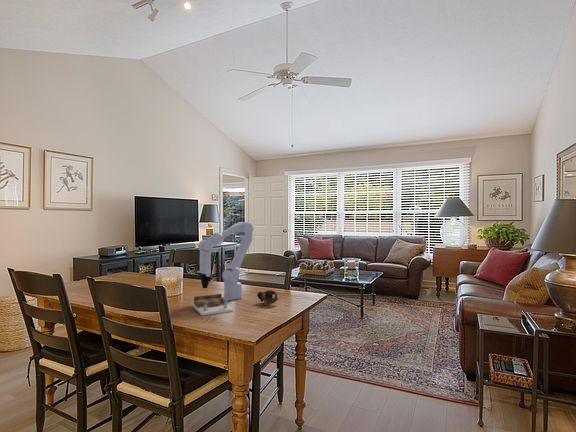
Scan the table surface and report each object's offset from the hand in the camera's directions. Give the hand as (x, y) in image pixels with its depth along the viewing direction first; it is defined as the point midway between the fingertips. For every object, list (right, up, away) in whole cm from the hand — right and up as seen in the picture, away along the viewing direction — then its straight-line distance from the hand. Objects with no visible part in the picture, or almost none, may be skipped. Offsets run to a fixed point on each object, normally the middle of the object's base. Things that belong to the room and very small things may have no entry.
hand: (204, 288), depth 180 cm
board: (+7, -8, -12) cm, 16 cm away
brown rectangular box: (+5, -6, -9) cm, 12 cm away
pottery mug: (+34, -8, -2) cm, 35 cm away
